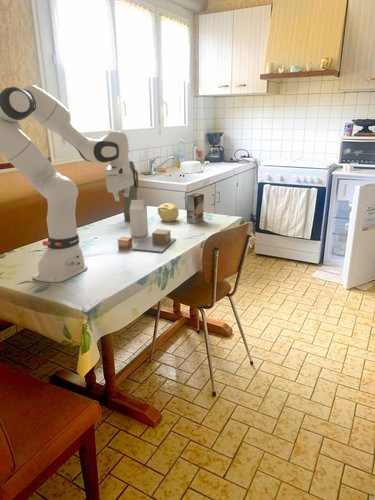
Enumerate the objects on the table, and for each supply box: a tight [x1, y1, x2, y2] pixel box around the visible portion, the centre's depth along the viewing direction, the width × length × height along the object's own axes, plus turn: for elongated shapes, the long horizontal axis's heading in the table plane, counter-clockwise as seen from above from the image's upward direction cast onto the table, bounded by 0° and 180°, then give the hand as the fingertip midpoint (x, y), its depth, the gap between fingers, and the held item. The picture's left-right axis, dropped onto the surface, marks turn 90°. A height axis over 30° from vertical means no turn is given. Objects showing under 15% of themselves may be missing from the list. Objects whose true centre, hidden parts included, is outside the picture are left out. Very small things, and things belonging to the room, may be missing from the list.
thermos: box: [121, 160, 139, 222], centre depth 226 cm, size 9×12×35 cm
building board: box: [131, 228, 177, 254], centre depth 185 cm, size 20×15×6 cm
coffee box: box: [186, 193, 205, 225], centre depth 223 cm, size 9×6×16 cm
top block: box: [117, 236, 134, 251], centre depth 181 cm, size 5×5×5 cm
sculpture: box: [157, 202, 180, 223], centre depth 227 cm, size 12×12×11 cm
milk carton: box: [129, 199, 149, 238], centre depth 198 cm, size 7×7×19 cm
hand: (122, 198), depth 174 cm, fingers open, 8 cm apart
